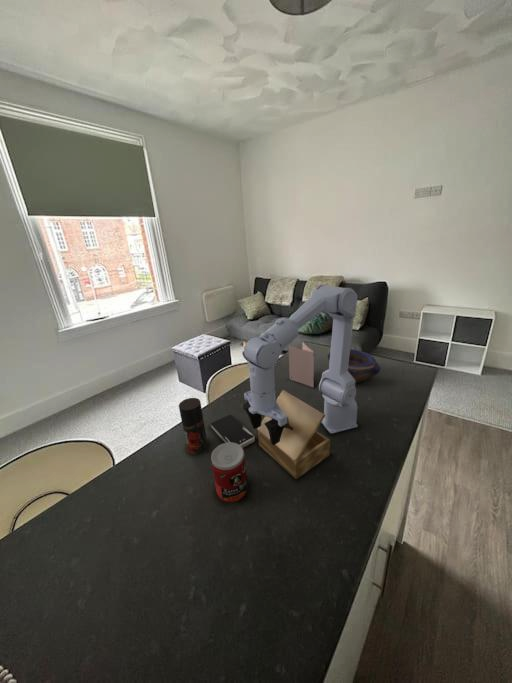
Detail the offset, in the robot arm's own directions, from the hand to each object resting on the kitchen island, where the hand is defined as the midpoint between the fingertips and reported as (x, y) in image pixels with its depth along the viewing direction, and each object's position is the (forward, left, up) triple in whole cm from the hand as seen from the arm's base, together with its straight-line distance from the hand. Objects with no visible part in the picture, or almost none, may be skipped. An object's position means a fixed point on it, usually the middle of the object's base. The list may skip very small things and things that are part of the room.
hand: (266, 434), depth 70 cm
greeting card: (-26, -37, -11) cm, 47 cm away
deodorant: (+18, -14, -11) cm, 25 cm away
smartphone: (+6, -16, -11) cm, 20 cm away
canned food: (+10, +4, -11) cm, 15 cm away
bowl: (-46, -32, -11) cm, 58 cm away
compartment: (-8, -3, -10) cm, 14 cm away
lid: (-8, -3, -1) cm, 8 cm away
